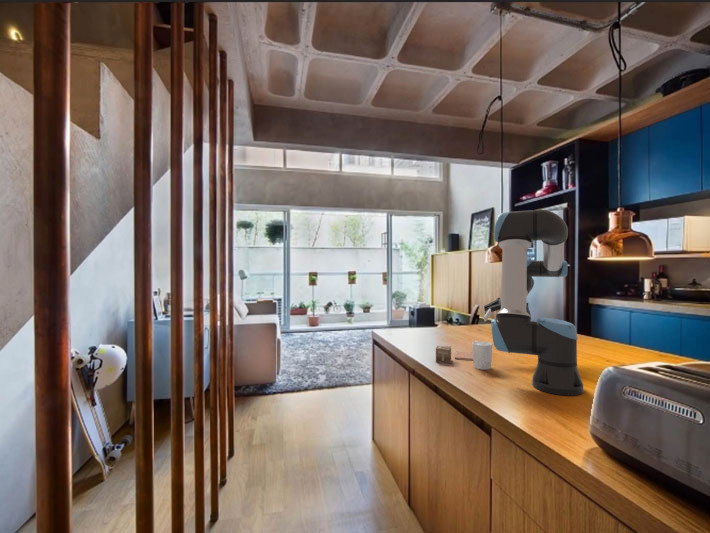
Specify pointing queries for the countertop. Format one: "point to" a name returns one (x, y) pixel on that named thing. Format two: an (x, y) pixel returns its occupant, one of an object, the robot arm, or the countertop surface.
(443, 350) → the letter block
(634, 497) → the countertop surface
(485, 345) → the white cup
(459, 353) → the coaster
